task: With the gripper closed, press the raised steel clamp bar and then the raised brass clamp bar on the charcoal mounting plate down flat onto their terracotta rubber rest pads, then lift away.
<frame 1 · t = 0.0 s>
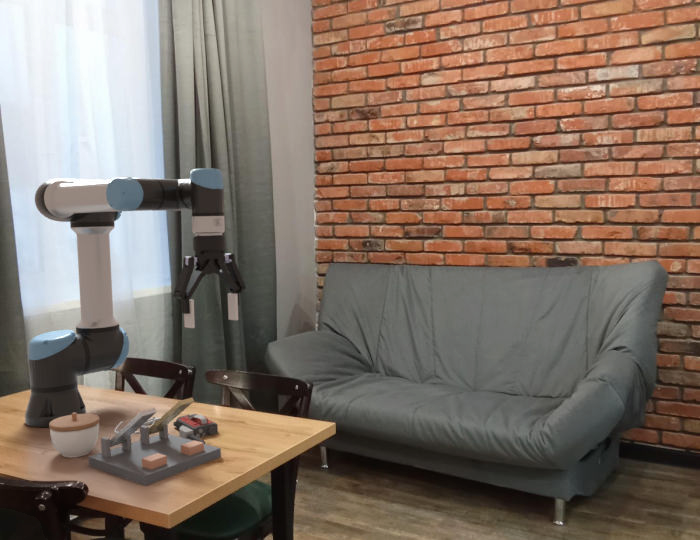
hand: (212, 323, 164), 28 cm above the table, tool pointing down, fingers open, 13 cm apart
lidded jar: (76, 454, 158), on the table
mount plate: (155, 461, 151), on the table
steel strap: (130, 428, 147), point 9 cm above the table, hinge at 35.0°
brass strap: (169, 416, 155), point 9 cm above the table, hinge at 35.0°
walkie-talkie: (198, 436, 170), on the table
crossbow: (144, 428, 178), on the table
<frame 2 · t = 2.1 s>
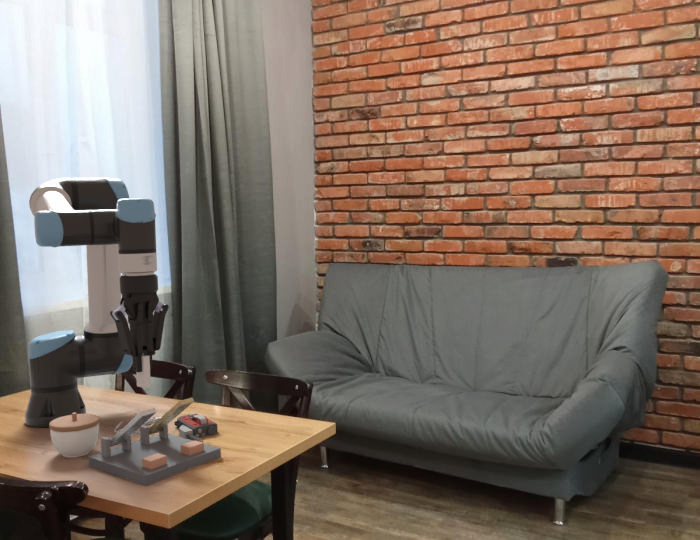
hand: (143, 386, 143), 18 cm above the table, tool pointing down, fingers closed
nothing on the table moved.
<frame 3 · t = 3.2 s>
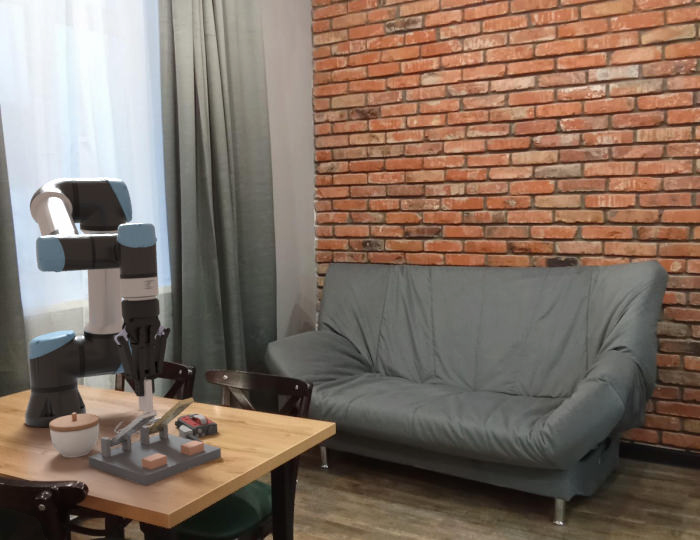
hand: (146, 410, 143), 13 cm above the table, tool pointing down, fingers closed
steel strap: (131, 429, 147), point 8 cm above the table, hinge at 33.1°, touching gripper
everything else where it was.
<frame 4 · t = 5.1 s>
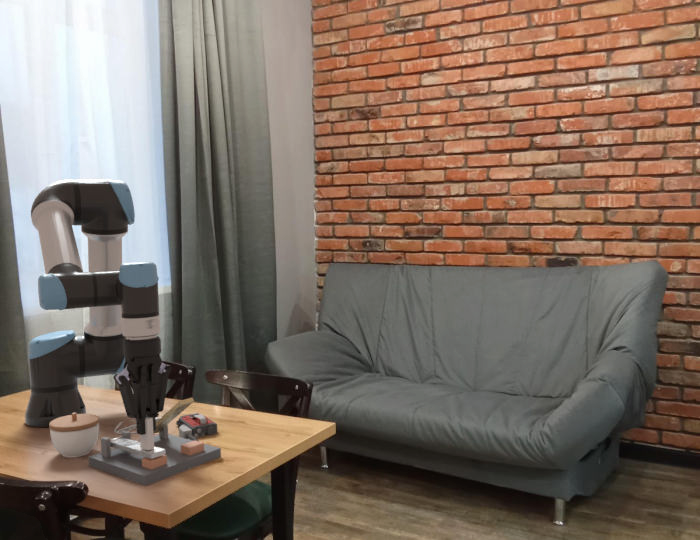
hand: (147, 448, 144), 5 cm above the table, tool pointing down, fingers closed
steel strap: (135, 447, 147), point 5 cm above the table, hinge at 0.5°, touching gripper
everything else where it was.
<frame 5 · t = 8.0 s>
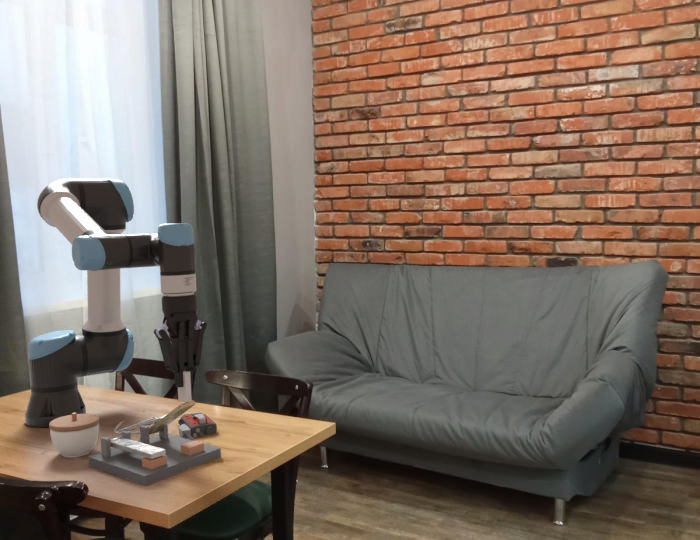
hand: (185, 400, 151), 13 cm above the table, tool pointing down, fingers closed
steel strap: (135, 447, 147), point 5 cm above the table, hinge at 0.4°
brass strap: (169, 418, 155), point 8 cm above the table, hinge at 32.3°, touching gripper
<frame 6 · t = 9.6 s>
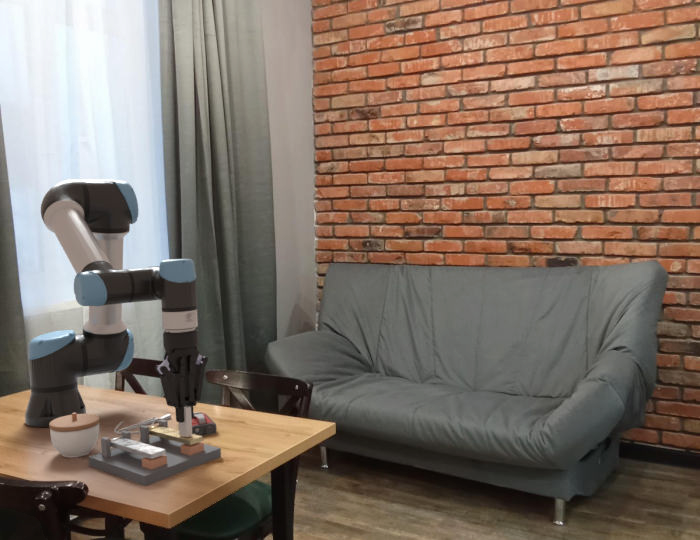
hand: (185, 435, 152), 5 cm above the table, tool pointing down, fingers closed
brass strap: (173, 434, 155), point 5 cm above the table, hinge at 0.8°, touching gripper
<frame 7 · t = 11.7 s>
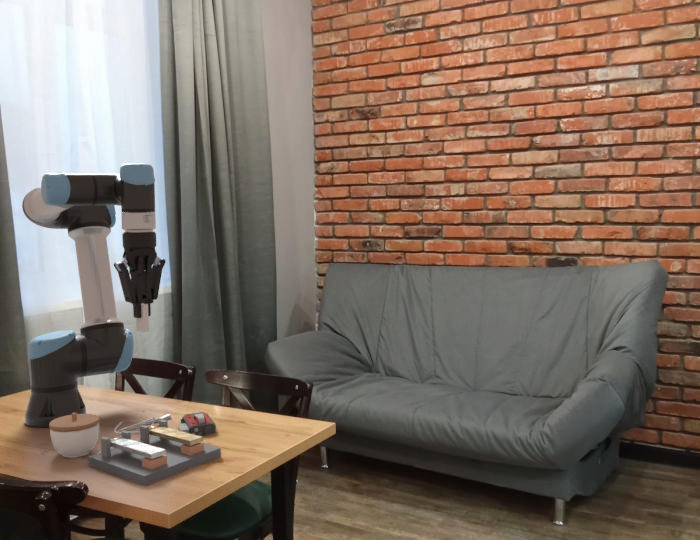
hand: (142, 330, 162), 27 cm above the table, tool pointing down, fingers closed
brass strap: (173, 435, 155), point 5 cm above the table, hinge at 0.4°
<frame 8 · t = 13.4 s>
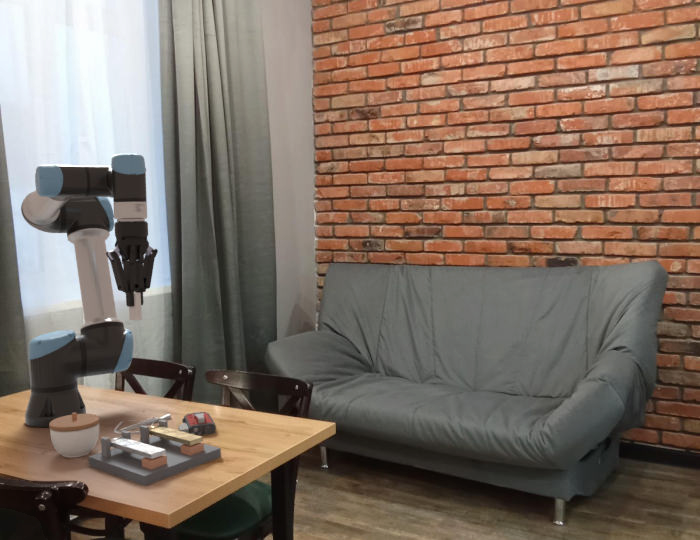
hand: (135, 319, 164), 29 cm above the table, tool pointing down, fingers closed
at the end: steel strap at +0° (first picture: +35°); brass strap at +0° (first picture: +35°) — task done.
